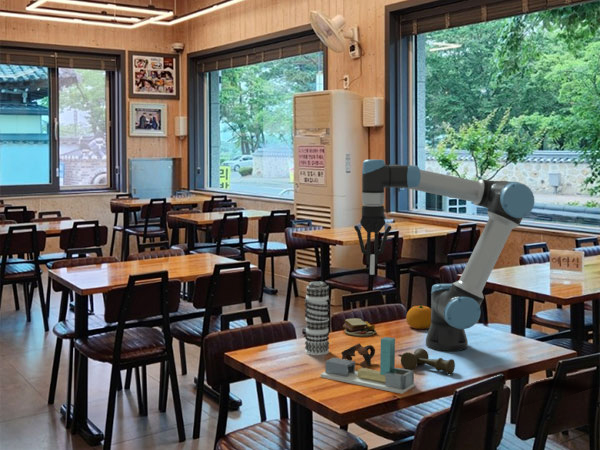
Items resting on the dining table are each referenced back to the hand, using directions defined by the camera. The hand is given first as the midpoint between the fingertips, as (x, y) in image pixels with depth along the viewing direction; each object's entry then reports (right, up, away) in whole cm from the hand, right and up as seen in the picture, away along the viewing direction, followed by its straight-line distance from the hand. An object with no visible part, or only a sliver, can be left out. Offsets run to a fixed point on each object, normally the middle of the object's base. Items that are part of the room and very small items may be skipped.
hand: (372, 273), depth 255 cm
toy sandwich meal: (-2, -26, +38) cm, 46 cm away
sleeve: (-12, -31, -18) cm, 38 cm away
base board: (-4, -32, -23) cm, 39 cm away
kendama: (+16, -31, -9) cm, 36 cm away
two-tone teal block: (0, -31, -26) cm, 40 cm away
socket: (+6, -33, -29) cm, 44 cm away
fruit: (+24, -25, +47) cm, 59 cm away
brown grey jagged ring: (-5, -30, -5) cm, 31 cm away
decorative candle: (-19, -29, +10) cm, 36 cm away
